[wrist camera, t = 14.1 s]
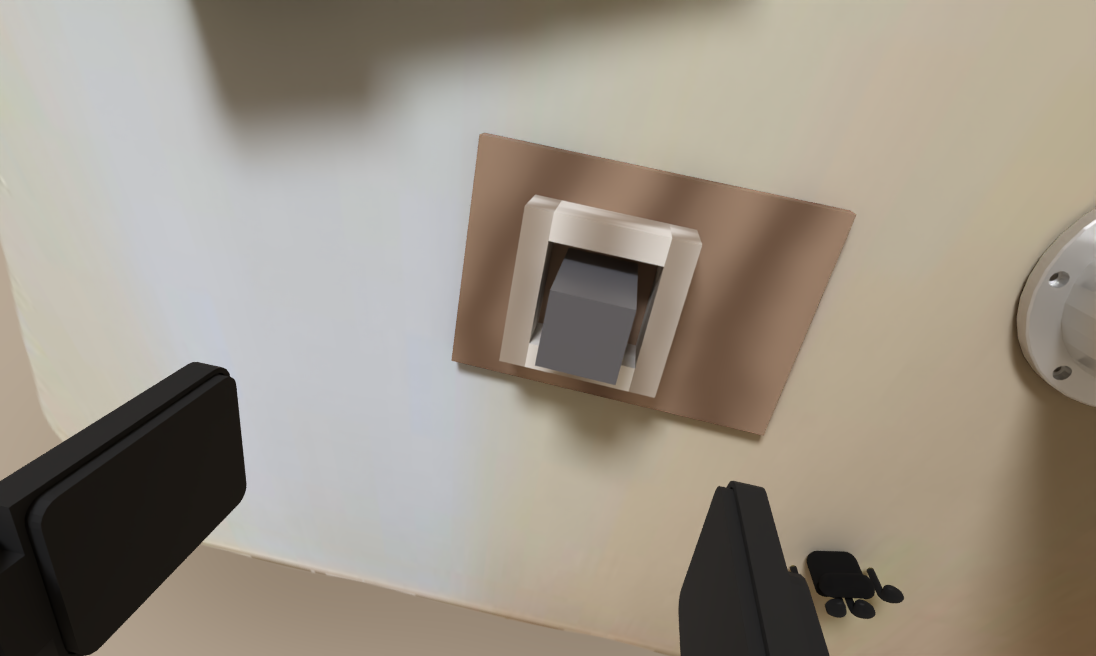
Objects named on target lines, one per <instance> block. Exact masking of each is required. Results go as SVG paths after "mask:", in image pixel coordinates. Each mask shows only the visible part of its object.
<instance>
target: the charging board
mask: <svg viewBox="0 0 1096 656" xmlns="http://www.w3.org/2000/svg"><path fill="white" fill-rule="evenodd" d="M855 217H856V214H854V213H853V212H851V211H850V210H845V209H840V208H836V207H831V206H826V205H821V204H817V203H812V202H807V201H803V200H798V199H793V198H789V197H784V196H779V195H774V194H770V193H765V192H760V191H756V190H751V189H746V188H742V187H737V186H732V185H727V184H723V183H718V182H713V181H709V180H704V179H699V178H695V177H690V176H685V175H680V174H676V173H671V172H666V171H662V170H657V169H652V168H648V167H643V166H638V165H633V164H629V163H624V162H619V161H615V160H610V159H605V158H601V157H596V156H591V155H586V154H582V153H577V152H572V151H568V150H563V149H558V148H554V147H549V146H544V145H539V144H535V143H530V142H525V141H521V140H516V139H511V138H507V137H502V136H497V135H493V134H488V133H482V134H480V136H479V144H478V152H477V160H476V168H475V176H474V184H473V192H472V200H471V208H470V216H469V224H468V232H467V240H466V248H465V256H464V264H463V272H462V280H461V288H460V297H459V305H458V313H457V321H456V329H455V337H454V345H453V353H452V361H456V362H460V363H464V364H468V365H472V366H476V367H481V368H485V369H489V370H493V371H497V372H501V373H505V374H510V375H514V376H518V377H522V378H526V379H530V380H535V381H539V382H543V383H547V384H551V385H555V386H560V387H564V388H568V389H572V390H576V391H580V392H584V393H589V394H593V395H597V396H601V397H605V398H609V399H614V400H618V401H622V402H626V403H630V404H634V405H638V406H643V407H647V408H651V409H655V410H659V411H663V412H668V413H672V414H676V415H680V416H684V417H688V418H692V419H697V420H701V421H705V422H709V423H713V424H717V425H722V426H726V427H730V428H734V429H738V430H742V431H747V432H751V433H755V434H759V435H764V433H765V430H766V428H767V426H768V423H769V421H770V418H771V416H772V414H773V411H774V409H775V407H776V404H777V402H778V399H779V397H780V395H781V392H782V390H783V388H784V385H785V383H786V381H787V378H788V376H789V373H790V371H791V369H792V366H793V364H794V362H795V359H796V357H797V354H798V352H799V350H800V347H801V345H802V343H803V340H804V338H805V335H806V333H807V331H808V328H809V326H810V324H811V321H812V319H813V316H814V314H815V312H816V309H817V307H818V305H819V302H820V300H821V297H822V295H823V293H824V290H825V288H826V286H827V283H828V281H829V278H830V276H831V274H832V271H833V269H834V267H835V264H836V262H837V260H838V257H839V255H840V252H841V250H842V248H843V245H844V243H845V241H846V238H847V236H848V233H849V231H850V229H851V226H852V224H853V222H854V219H855ZM568 248H572V249H576V250H581V251H585V252H589V253H594V254H598V255H602V256H607V257H611V258H615V259H620V260H624V261H628V262H633V263H637V264H638V282H637V309H636V314H635V317H634V321H633V324H632V328H631V332H630V335H629V339H628V342H627V346H626V349H625V353H624V357H623V360H622V364H621V367H620V371H619V375H618V378H617V382H616V385H612V384H608V383H604V382H600V381H596V380H592V379H588V378H584V377H580V376H576V375H571V374H567V373H563V372H559V371H555V370H551V369H547V368H543V367H539V366H535V362H536V357H537V352H538V347H539V342H540V337H541V332H542V327H543V323H544V318H545V313H546V308H547V303H548V298H549V293H550V289H551V287H552V285H553V282H554V280H555V278H556V276H557V273H558V271H559V269H560V267H561V264H562V262H563V260H564V258H565V255H566V253H567V251H568Z"/></svg>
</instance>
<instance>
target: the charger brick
mask: <svg viewBox="0 0 1096 656" xmlns="http://www.w3.org/2000/svg"><path fill="white" fill-rule="evenodd" d="M637 282H638V264H637V263H633V262H628V261H624V260H620V259H615V258H611V257H607V256H602V255H598V254H594V253H589V252H585V251H581V250H576V249H572V248H568V251H567V253H566V255H565V258H564V260H563V262H562V264H561V267H560V269H559V271H558V273H557V276H556V278H555V280H554V282H553V285H552V287H551V289H550V293H549V298H548V303H547V308H546V313H545V318H544V323H543V327H542V332H541V337H540V342H539V347H538V352H537V357H536V362H535V366H539V367H543V368H547V369H551V370H555V371H559V372H563V373H567V374H571V375H576V376H580V377H584V378H588V379H592V380H596V381H600V382H604V383H608V384H612V385H616V382H617V378H618V375H619V371H620V367H621V364H622V360H623V357H624V353H625V349H626V346H627V342H628V339H629V335H630V332H631V328H632V324H633V321H634V317H635V314H636V309H637Z"/></svg>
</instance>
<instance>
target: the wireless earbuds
mask: <svg viewBox="0 0 1096 656" xmlns="http://www.w3.org/2000/svg"><path fill="white" fill-rule="evenodd" d="M807 565H808V568H809V571H810V574H811V577H812V580H813V583H814V586H815V589H816V592H817V593H818V594H819V595H821V596H824V597H832V598H835V599H831V600H829V601H828V602H827V603H826V604H825V608H826V611H827V613H828V614H829V615H831V616H834V617H839V618H841V617H844V616H845V615H846V606H845V604H844V602H843V599H842V598H845V600H846V603H847V606H848V608H849V610H850V612H851V613H852V614H853V615H855V616H856V617H859V618H863V619H870V618H872V617H874V616H875V610H874V608H873V606H872V605H871V604H869V603H868V602H866V601H864V600H860V599H859V600H856V601H855V603H854V601H853V598H864V599H870V598H872V597H873V596H874V593H875V591H876V593H877V595H878V596H879V597H880V598H881V599H882V600H883V601H886V602H889V603H900V602H902V601H903V600H904V596H903V594H902V592H901V591H900V590H899V589H897V588H896V587H894V586H891V585H885V586H884V587H883V589H882V586H881V584H880V582H879V580H878V578H877V576H876V573H875V571H874V569H873V568H868V569H867V573H868V575H869V577H870V578H868V577H867V576H865V575H863V574H862V571H861V569H860V567H859V564H858V562H857V560H856V558H855V557H854V556H853V555H852V554H850V553H848V552H838V551H814V552H812V553H810V554H809V556H808V557H807ZM790 569H791V572H793V573H797V574H798V570H797V567H796V566H794V565H792V566H791V567H790Z"/></svg>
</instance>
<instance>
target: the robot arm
mask: <svg viewBox="0 0 1096 656" xmlns="http://www.w3.org/2000/svg"><path fill="white" fill-rule="evenodd" d="M1017 333H1018V340H1019V343H1020V346H1021V349H1022V352H1023V355H1024V357H1025V358H1026V360H1027V361H1028V363H1029V364H1030V366H1031V367H1032V369H1033V370H1034V371H1035V372H1036V373H1037V374H1038V375H1039V376H1040V377H1041V378H1042V379H1044V380H1045V381H1046V382H1047V383H1048V384H1049V385H1051V386H1052V387H1054V388H1055V389H1057V390H1058V391H1059V392H1061V393H1062V394H1064V395H1065V396H1067V397H1069V398H1071V399H1074V400H1076V401H1078V402H1081V403H1083V404H1085V405H1089V406H1093V407H1096V208H1095V209H1093V210H1091V211H1090V212H1088V213H1087V214H1085V215H1084V216H1082V217H1081V218H1080V219H1079V220H1078V221H1076V222H1075V223H1074V224H1073V225H1072V226H1070V227H1069V228H1068V229H1067V230H1065V231H1064V232H1063V233H1062V234H1061V235H1060V236H1059V237H1058V238H1057V239H1056V240H1055V242H1054V243H1053V244H1052V245H1051V246H1050V247H1049V248H1048V249H1047V250H1046V252H1045V253H1044V254H1043V255H1042V257H1041V258H1040V260H1039V261H1038V263H1037V264H1036V266H1035V267H1034V269H1033V271H1032V272H1031V274H1030V275H1029V277H1028V280H1027V282H1026V285H1025V287H1024V290H1023V292H1022V294H1021V297H1020V302H1019V308H1018V313H1017ZM245 491H246V475H245V465H244V456H243V446H242V436H241V427H240V417H239V407H238V398H237V388H236V382H235V380H234V379H233V378H231V377H230V374H229V372H228V371H227V369H225V368H222V367H218V366H213V365H209V364H204V363H200V362H192V363H190V364H188V365H186V366H184V367H183V368H181V369H180V370H178V371H176V372H175V373H173V374H172V375H170V376H168V377H167V378H165V379H164V380H162V381H160V382H159V383H157V384H156V385H154V386H152V387H151V388H149V389H148V390H146V391H144V392H143V393H141V394H139V395H138V396H136V397H135V398H133V399H131V400H130V401H128V402H127V403H125V404H123V405H122V406H120V407H119V408H117V409H115V410H114V411H112V412H111V413H109V414H107V415H106V416H104V417H103V418H101V419H99V420H98V421H96V422H94V423H93V424H91V425H90V426H88V427H86V428H85V429H83V430H82V431H80V432H78V433H77V434H75V435H74V436H72V437H70V438H69V439H67V440H66V441H64V442H62V443H61V444H59V445H58V446H56V447H54V448H53V449H51V450H50V451H48V452H46V453H45V454H43V455H41V456H40V457H38V458H37V459H35V460H33V461H32V462H30V463H29V464H27V465H25V466H24V467H22V468H21V469H19V470H17V471H16V472H14V473H13V474H11V475H9V476H8V477H6V478H4V479H3V480H1V481H0V656H84V655H85V656H86V655H90V654H92V653H93V652H95V651H97V650H98V649H99V648H100V647H101V646H102V645H103V644H104V643H105V642H106V641H107V640H108V639H109V638H110V637H111V636H112V635H113V634H114V633H115V632H116V631H117V630H118V628H120V626H121V625H122V624H123V623H124V622H125V621H126V620H127V619H128V618H129V617H130V616H131V615H132V614H133V613H134V612H135V611H136V610H137V609H138V608H139V607H140V606H141V605H142V604H143V603H144V602H145V601H146V600H147V598H148V597H149V596H150V595H151V594H152V593H153V592H154V591H155V590H156V589H157V588H158V587H159V586H160V585H161V584H162V583H163V582H164V581H165V580H166V579H167V577H169V576H170V574H172V573H173V572H174V570H175V569H176V568H177V567H178V566H179V565H180V564H181V563H182V562H183V561H184V560H185V559H186V558H187V557H188V556H189V555H190V554H191V553H192V552H193V551H194V550H195V549H196V548H197V547H198V546H199V545H200V544H201V543H202V541H203V540H204V539H205V538H206V537H207V536H208V535H209V534H210V533H211V532H212V531H213V530H214V529H215V528H216V527H217V526H218V525H219V524H220V523H221V522H222V521H223V520H224V519H225V518H226V517H227V516H228V515H229V513H230V512H231V511H232V510H233V509H234V508H235V507H236V506H237V505H238V504H239V503H240V502H241V500H242V498H243V496H244V494H245ZM679 632H680V652H681V656H829V652H828V649H827V646H826V643H825V639H824V636H823V633H822V630H821V626H820V623H819V620H818V616H817V613H816V610H815V607H814V603H813V600H812V597H811V594H810V590H809V587H808V585H807V582H806V580H805V578H804V577H803V576H802V575H801V574H797V573H793V572H789V571H788V570H787V567H786V563H785V559H784V556H783V552H782V548H781V545H780V541H779V537H778V534H777V530H776V527H775V523H774V519H773V516H772V512H771V508H770V505H769V501H768V497H767V494H766V491H765V489H764V488H763V487H759V486H754V485H750V484H745V483H741V482H736V481H730V483H729V484H728V486H727V488H725V487H721V486H718V487H717V489H716V491H715V493H714V496H713V499H712V502H711V505H710V508H709V511H708V514H707V516H706V519H705V522H704V525H703V528H702V531H701V534H700V537H699V540H698V542H697V545H696V548H695V551H694V554H693V557H692V560H691V563H690V566H689V568H688V571H687V574H686V577H685V580H684V583H683V586H682V589H681V592H680V598H679Z"/></svg>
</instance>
